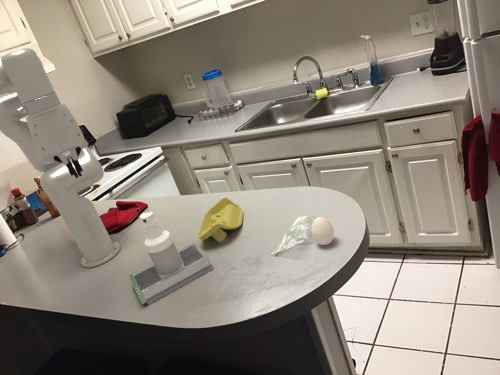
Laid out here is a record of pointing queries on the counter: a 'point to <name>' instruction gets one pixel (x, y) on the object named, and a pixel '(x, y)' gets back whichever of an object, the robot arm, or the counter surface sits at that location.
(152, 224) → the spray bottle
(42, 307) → the counter surface
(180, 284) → the rail cradle
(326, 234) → the egg
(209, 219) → the plastic component
